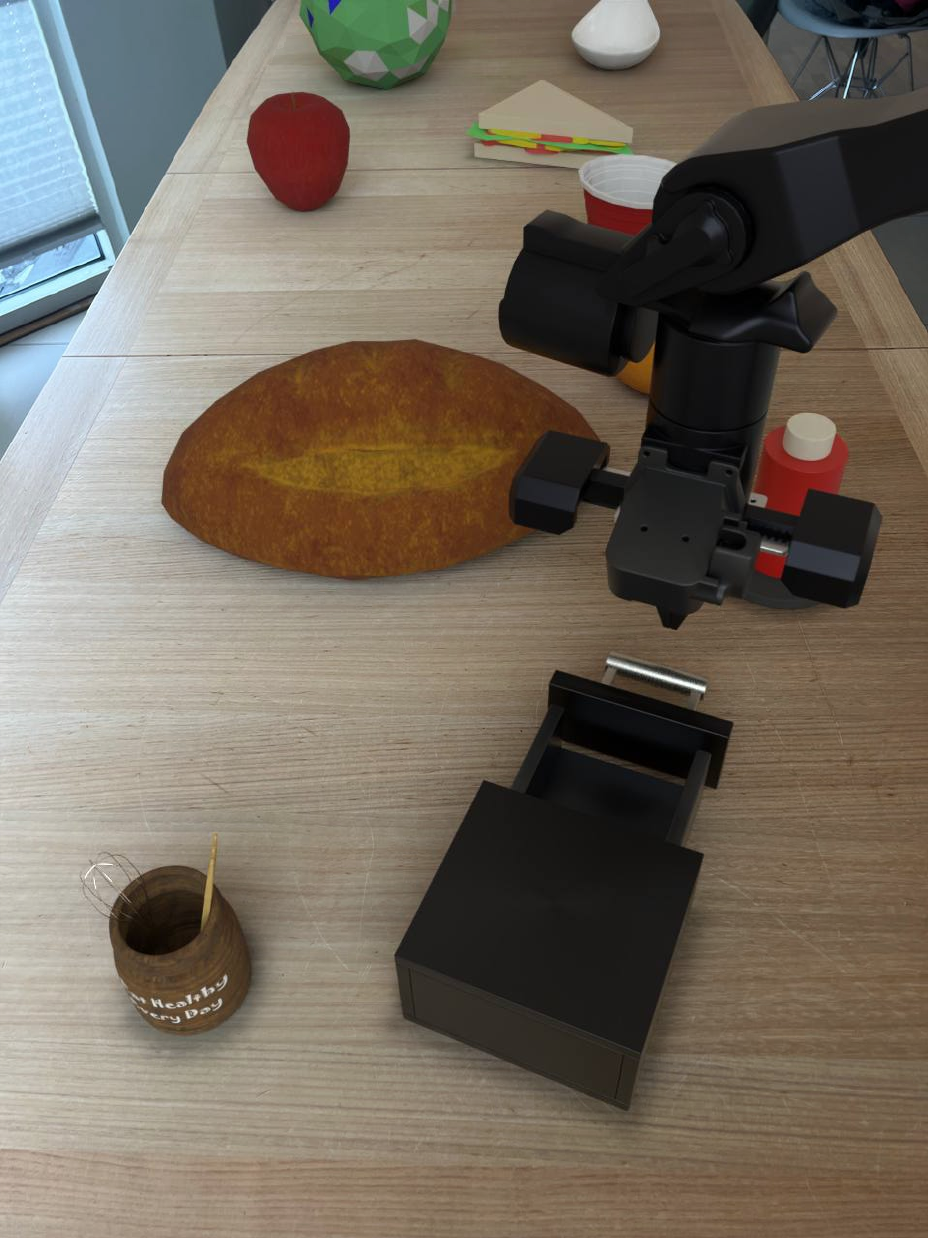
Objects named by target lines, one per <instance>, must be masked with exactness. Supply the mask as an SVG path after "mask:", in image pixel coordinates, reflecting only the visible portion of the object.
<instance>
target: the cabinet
mask: <svg viewBox="0 0 928 1238" xmlns="http://www.w3.org/2000/svg"><path fill="white" fill-rule="evenodd" d="M704 857H705V854H704V853H703V852H700V851H698V850H694V849H691V848H688V847H686V848H685V847H682V846H679V845H676V844H673V843H670V842H667V841H664V840H661V839H659V838H656V837H653V836H650V835H647V834H644V833H641V832H638V831H635V830H632V829H629V828H626V827H623V826H620V825H617V824H614V823H611V822H608V821H605V820H602V819H599V818H596V817H593V816H590V815H587V814H584V813H581V812H578V811H575V810H572V809H569V808H566V807H563V806H560V805H557V804H554V803H551V802H548V801H545V800H542V799H539V798H536V797H533V796H530V795H527V794H524V793H521V792H518V791H515V790H512V789H510V787H506V786H504V785H500V784H497V783H496V782H495V783H494V782H491V781H489V780H485V779H483V780H482V782H481V784H480V786H479V787H478V789H477V791H476V794H475V795H474V797H473V798H472V802H471V803H470V805H469V807H468V809H467V811H466V813H465V815H464V817H463V819H462V821H461V823H460V825H459V827H458V828H457V831H456V833H455V835H454V837H453V838H452V841H451V843H450V845H449V847H448V849H447V850H446V853H445V854H444V857H443V858H442V860H441V862H440V864H439V866H438V868H437V870H436V873H435V874H434V876H433V878H432V880H431V882H430V885H429V886H428V888H427V890H426V892H425V894H424V895H423V898H422V899H421V902H420V903H419V906H418V908H417V910H416V912H415V913H414V915H413V918H412V920H411V922H410V923H409V925H408V927H407V929H406V931H405V933H404V935H403V937H402V938H401V941H400V943H399V945H398V947H397V948H396V951H395V953H394V954H393V955H394V956H393V958H394V963H395V970H396V977H397V984H398V990H399V999H400V1005H401V1010H402V1011H401V1012H402V1018H403V1019H404V1020H407V1021H409V1022H411V1023H414V1024H416V1025H419V1026H421V1027H423V1028H426V1029H428V1030H431V1031H433V1032H435V1033H437V1034H439V1035H442V1036H445V1037H447V1038H449V1039H452V1040H454V1041H457V1042H460V1043H462V1044H463V1045H466V1046H469V1047H472V1048H474V1049H476V1050H478V1051H481V1052H484V1053H485V1054H488V1055H490V1056H493V1057H495V1058H498V1059H500V1060H503V1061H505V1062H508V1063H510V1064H512V1065H515V1066H517V1067H520V1068H522V1069H524V1070H525V1071H529V1072H530V1073H531V1072H532V1073H534V1074H535V1075H539V1076H541V1077H542V1078H546V1079H548V1080H551V1081H553V1082H556V1083H558V1084H560V1085H563V1086H565V1087H567V1088H569V1089H572V1090H575V1091H577V1092H579V1093H582V1094H584V1095H586V1096H589V1097H592V1098H593V1099H597V1100H599V1101H600V1102H603V1103H606V1104H609V1105H610V1106H613V1107H616V1108H618V1109H620V1110H622V1111H624V1112H629V1111H630V1108H631V1105H632V1102H633V1098H634V1095H635V1092H636V1089H637V1085H638V1082H639V1079H640V1075H641V1072H642V1069H643V1067H644V1063H645V1060H646V1057H647V1053H648V1050H649V1047H650V1043H651V1040H652V1037H653V1034H654V1031H655V1028H656V1025H657V1021H658V1018H659V1015H660V1011H661V1009H662V1005H663V1002H664V999H665V996H666V992H667V989H668V987H669V986H668V985H669V982H670V980H671V977H672V976H671V975H672V973H673V970H674V966H675V963H676V959H677V957H678V954H679V951H680V947H681V944H682V941H683V937H684V935H685V932H686V928H687V925H688V921H689V917H690V913H691V910H692V905H693V902H694V897H695V893H696V889H697V885H698V881H699V877H700V873H701V870H702V865H703V861H704Z"/></svg>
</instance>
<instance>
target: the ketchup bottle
mask: <svg viewBox="0 0 928 1238" xmlns="http://www.w3.org/2000/svg"><path fill="white" fill-rule="evenodd" d="M849 455H850V451H849V447H848V445H847V443H846V441H844V439H843V438H842V437H840V436H839V435H838V434H837V426H836V424H835V423H834V422H833V421H832V420H831V419H830V418H828V417H827V416H824V415H822V414H819V413H815V412H799V413H796V414H794V415H792V416H791V417H789V419H788V420H787V421H786V424H784V425H781V426H778V427H775V428H773V429H772V430H771V431H770V432H768V433H767V435H766V436H765V438H764V441H763V445H762V451H761V455H760V460H759V464H758V469H757V474H756V477H755V484H754V488H753V492H752V493H757V494H761V495H765V496H766V497H767V498H768V500H767V504H766V507H765V508H767V509H772V510H776V511H780V512H785V513H789V514H793V515H797V516H799V515H800V512H801V509H802V506H803V503H804V500H805V497H806V494H807V491H808V488H810V489H815V490H819V491H823V492H828V493H832V494H837V495H839V491H840V488H841V484H842V481H843V477H844V473H845V470H846V466H847V463H848V459H849ZM786 557H787V556H785V557H781V556H777V555H773V554H769V553H765V552H761V551H760V552H759V556H758V559H757V563H756V566H755V570H757V571H759V572H761V573H763V574H765V575H768V576H771V577H776V578H781V576H782V572H783V568H784V564H785V561H786Z"/></svg>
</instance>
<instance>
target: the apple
mask: <svg viewBox="0 0 928 1238" xmlns="http://www.w3.org/2000/svg"><path fill="white" fill-rule="evenodd" d="M247 127H248V128H247V136H246V145H247V147H248V152H249V154H250V158H251V161H252V164H253V167H254V170H255V172H256V173H257V174H258V176H259V178H260V179H261V180H262V181H263V184H264V185H265V186H266V187H267V189H268V190H269V192H270V193H271V194H272V196H273V197H274V198H275V200H276V201H277V202H279V203H282V204H283V205H285V206H287V207H289V208H290V209H292V210H294V211H295V212H303V213H304V212H311V211H313V210H316V209H318V208H320V207H322V206H323V205H325V204H326V203H327V202H329V201H330V200H331V199H333V198H334V197H335V196H336V195H337V193H339V190H340V188H341V186H342V183H343V180H344V176H345V173H346V171H347V168H348V165H349V155H350V154H349V153H350V143H351V129H350V126H349V124H348V121H347V119H346V116H345V114H344V111H343V110H342V109H341V108H340V107H338V106H337V105H336V104H335V103H333V102H331V101H330V100H328V99H327V98H326V97H325V96H321V95H319V94H316V93H312V92H305V91H292V92H284V93H278V94H275V95H272V96H270V97H267V98H265V99H264V100H263V101H262V102H261V103H260V104H259V105H258V107H256V109H255V110H254V111H253V112H252V114H250V117H249V121H248V126H247Z"/></svg>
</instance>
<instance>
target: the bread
mask: <svg viewBox="0 0 928 1238" xmlns="http://www.w3.org/2000/svg"><path fill="white" fill-rule="evenodd" d="M548 430H553V431H558V432H562V433H567V434H571V435H576V436H580V437H584V438H589V439H593V440H598V441H602V440H601V439H600V437H599V436H598V434H596V432H595V431H594V429H593V428H592V426H591V425H590V424H589V422H588V421H587V420H586V419H585V417H584V415H583V414H582V413H581V412H580V411H579V410H578V409H577V408H576V407H575V406H573V405H572V404H570V403H569V402H568V401H566V400H565V399H563V398H562V397H561V396H559V395H558V394H556V393H554V392H553V391H551V390H550V389H549V388H547V387H546V386H544V385H543V384H541V383H539V382H537V381H535V380H533V379H532V378H529V377H528V376H526V375H524V374H523V373H520V372H519V371H517V370H515V369H514V368H511V367H510V366H507V365H506V364H504V363H501V362H498V361H496V360H493V359H490V358H487V357H484V356H481V355H477V354H474V353H470V352H466V351H462V350H459V349H455V348H451V347H448V346H444V345H441V344H436V343H433V342H428V341H425V340H420V339H416V338H411V339H396V340H350V341H346V342H342V343H338V344H334V345H330V346H325V347H320V348H316V349H313V350H311V351H307V352H306V353H303V354H300V355H298V356H296V357H293V358H290V359H288V360H286V361H283V362H280V363H278V364H275V365H272V366H271V367H268V368H265V369H263V370H260V371H258V372H257V373H255V374H253V375H251V376H250V377H249V378H247V379H246V380H244V381H243V382H242V383H240V384H239V385H237V386H236V387H234V388H233V389H231V390H230V391H228V392H227V393H225V394H224V395H222V396H221V397H219V398H218V399H216V400H215V401H214V402H213V403H212V404H211V405H210V406H209V407H207V408H206V410H205V411H203V412H202V413H201V414H200V415H199V416H198V417H197V418H196V419H195V420H194V421H193V422H192V423H191V424H189V426H187V428H185V429H184V430H183V431H182V432H181V434H180V436H179V438H178V440H177V442H176V443H175V447H174V448H173V450H172V453H171V455H170V457H169V459H168V462H167V464H166V466H165V467H164V470H163V477H162V488H161V489H162V490H161V500H160V504H161V505H162V507H163V508H164V510H165V511H166V512H167V514H168V516H169V517H170V518H171V519H172V520H173V521H174V522H175V523H177V524H178V525H179V526H181V528H183V529H184V530H185V531H187V532H188V533H190V534H191V535H193V536H194V537H195V538H197V539H199V540H200V541H201V542H203V543H205V544H208V545H209V546H212V547H215V548H216V549H219V550H221V551H223V552H225V553H228V554H230V555H233V556H235V557H237V558H239V559H242V560H246V561H250V562H253V563H257V564H262V565H265V566H269V567H272V568H273V567H274V568H277V569H282V570H289V571H294V572H297V573H298V572H299V573H304V574H310V575H316V576H321V577H326V578H330V579H331V578H332V579H339V580H340V579H341V580H346V581H361V580H371V579H379V578H388V577H396V576H404V575H411V574H416V573H424V572H431V571H436V570H443V569H446V568H449V567H452V566H455V565H457V564H460V563H461V564H462V563H464V562H467V561H469V560H473V559H475V558H479V557H482V556H484V555H487V554H489V553H492V552H494V551H497V550H498V549H500V548H502V547H504V546H507V545H508V544H510V543H513V542H515V541H517V540H519V539H521V538H523V537H526V536H527V535H529V534H532V533H533V532H534V531H537V530H536V529H532V528H528V527H524V526H520V525H516V524H514V523H513V521H512V520H511V518H510V517H509V490H510V487H511V483H512V479H513V477H514V475H515V474H516V472H517V471H518V469H519V467H520V466H521V464H522V463H523V461H524V460H525V458H526V456H527V455H528V453H529V452H530V450H531V449H532V447H533V445H534V444H535V442H536V441H537V439H538V438H539V437H540V436H542V435H543V434H544V433H546V432H547V431H548Z"/></svg>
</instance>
